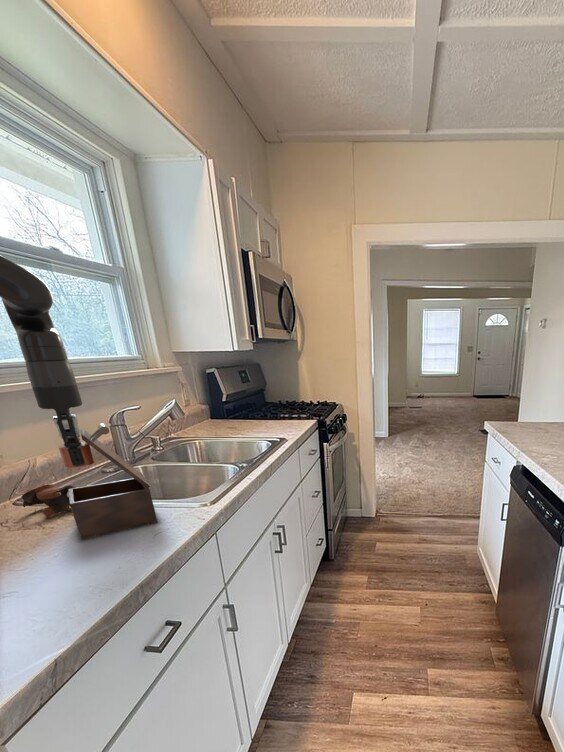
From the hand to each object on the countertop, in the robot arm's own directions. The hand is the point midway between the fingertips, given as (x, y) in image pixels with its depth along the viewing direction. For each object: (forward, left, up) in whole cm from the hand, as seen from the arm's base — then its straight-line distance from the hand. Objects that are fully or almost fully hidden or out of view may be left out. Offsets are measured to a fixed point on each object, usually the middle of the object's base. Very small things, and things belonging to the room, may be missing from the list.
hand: (78, 461), depth 90 cm
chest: (+4, 0, -17) cm, 17 cm away
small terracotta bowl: (0, 0, -1) cm, 1 cm away
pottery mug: (-1, +23, -17) cm, 29 cm away
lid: (+7, -1, -1) cm, 7 cm away
